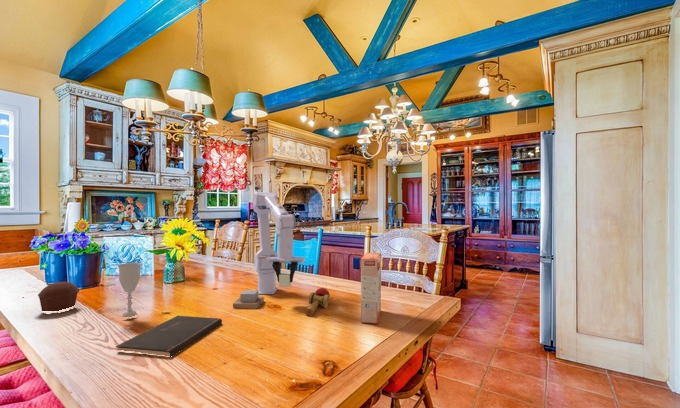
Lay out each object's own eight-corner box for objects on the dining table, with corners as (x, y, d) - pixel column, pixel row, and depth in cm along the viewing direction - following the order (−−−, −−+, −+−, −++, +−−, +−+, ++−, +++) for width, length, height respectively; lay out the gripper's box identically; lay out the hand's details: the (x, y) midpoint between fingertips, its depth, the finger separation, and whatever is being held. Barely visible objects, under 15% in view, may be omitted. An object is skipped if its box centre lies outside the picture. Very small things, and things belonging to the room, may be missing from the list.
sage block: (281, 284, 122) (281, 272, 122) (291, 284, 122) (291, 272, 122) (279, 286, 118) (279, 274, 118) (289, 287, 118) (289, 275, 118)
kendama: (322, 321, 106) (335, 298, 124) (318, 303, 106) (331, 283, 123) (301, 323, 108) (317, 301, 126) (297, 306, 108) (313, 286, 125)
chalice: (112, 319, 105) (112, 265, 105) (133, 313, 111) (134, 262, 111) (124, 322, 101) (125, 267, 101) (146, 316, 107) (146, 263, 108)
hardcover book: (115, 355, 81) (115, 346, 81) (177, 322, 103) (177, 315, 103) (170, 360, 78) (170, 351, 78) (222, 325, 100) (222, 318, 100)
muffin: (71, 313, 110) (71, 285, 110) (30, 317, 106) (30, 288, 106) (84, 304, 121) (84, 278, 122) (47, 307, 117) (48, 280, 117)
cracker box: (378, 324, 99) (378, 258, 100) (360, 323, 101) (359, 258, 101) (382, 310, 113) (381, 252, 113) (365, 309, 114) (365, 252, 115)
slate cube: (244, 297, 123) (244, 290, 123) (258, 297, 123) (258, 289, 123) (240, 302, 117) (240, 294, 117) (255, 302, 118) (255, 294, 118)
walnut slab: (241, 302, 125) (241, 296, 125) (263, 302, 124) (263, 296, 124) (232, 310, 116) (232, 303, 116) (257, 310, 115) (257, 303, 115)
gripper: (263, 247, 116) (263, 284, 116) (302, 247, 116) (302, 284, 116) (268, 245, 123) (268, 279, 123) (305, 245, 123) (305, 279, 123)
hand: (285, 281), depth 120 cm, fingers closed on sage block, 4 cm apart
